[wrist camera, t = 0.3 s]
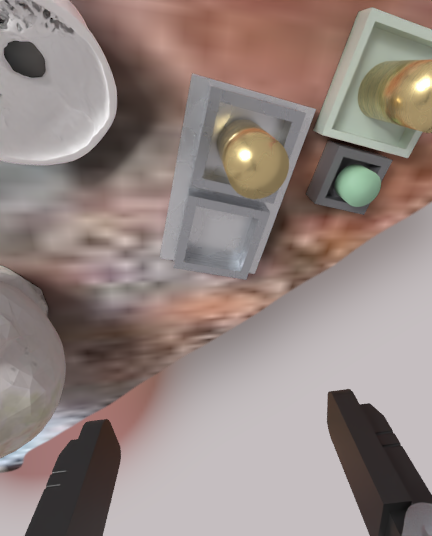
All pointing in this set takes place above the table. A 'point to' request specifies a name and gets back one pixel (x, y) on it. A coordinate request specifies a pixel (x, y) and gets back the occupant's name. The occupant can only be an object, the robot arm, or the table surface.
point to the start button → (357, 185)
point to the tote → (354, 70)
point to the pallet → (225, 180)
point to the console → (333, 164)
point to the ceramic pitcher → (26, 362)
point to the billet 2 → (399, 93)
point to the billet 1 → (252, 159)
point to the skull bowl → (53, 86)
